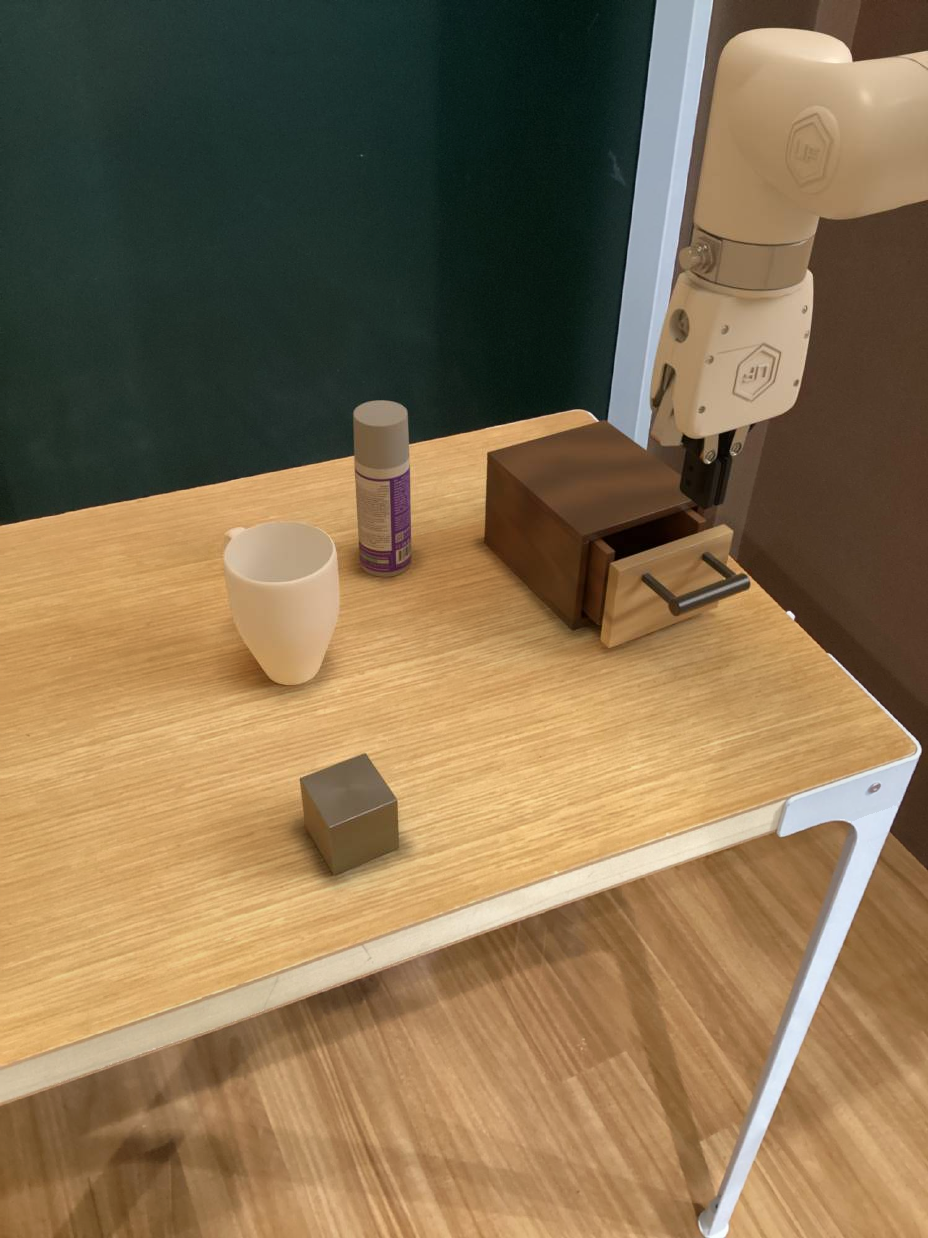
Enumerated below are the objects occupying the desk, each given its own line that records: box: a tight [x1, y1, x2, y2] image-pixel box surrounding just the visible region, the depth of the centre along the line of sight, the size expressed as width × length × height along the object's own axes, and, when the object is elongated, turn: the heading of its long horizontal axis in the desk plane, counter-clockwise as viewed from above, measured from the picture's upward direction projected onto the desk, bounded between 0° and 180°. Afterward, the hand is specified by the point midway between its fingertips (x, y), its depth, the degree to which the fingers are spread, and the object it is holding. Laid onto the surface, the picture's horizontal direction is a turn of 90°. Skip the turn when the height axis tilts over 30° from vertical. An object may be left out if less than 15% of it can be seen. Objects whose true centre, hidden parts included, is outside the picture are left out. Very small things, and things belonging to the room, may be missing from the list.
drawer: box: [582, 508, 751, 649], centre depth 89 cm, size 18×11×8 cm, turn 30°
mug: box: [221, 520, 341, 686], centre depth 83 cm, size 12×8×11 cm
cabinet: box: [483, 419, 706, 631], centre depth 94 cm, size 15×13×10 cm
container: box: [352, 399, 412, 578], centre depth 92 cm, size 5×5×15 cm
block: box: [299, 752, 400, 876], centre depth 70 cm, size 5×5×5 cm
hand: (700, 497), depth 79 cm, fingers closed
